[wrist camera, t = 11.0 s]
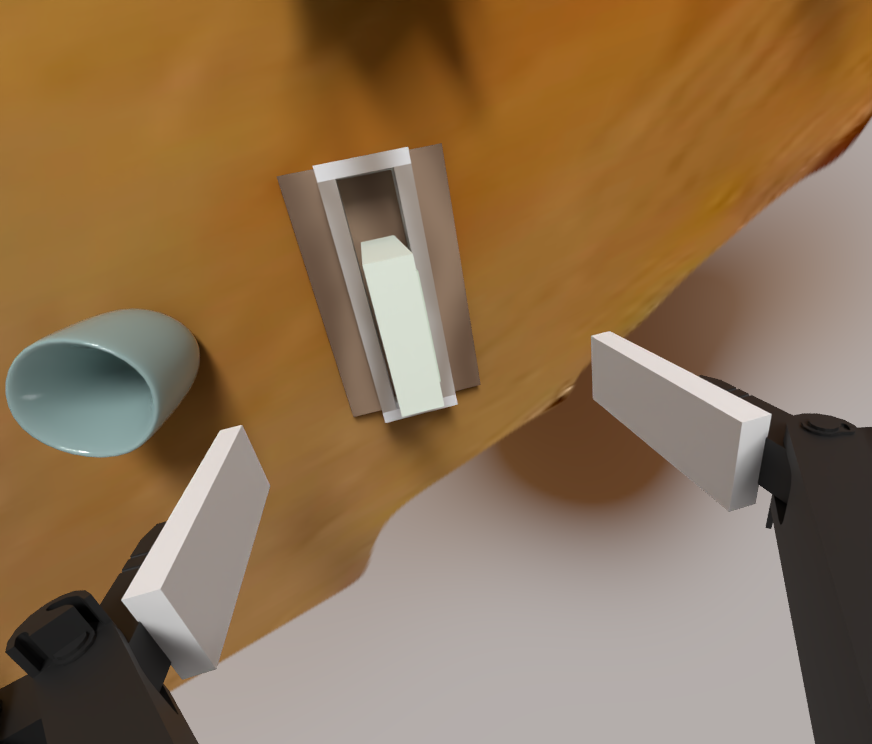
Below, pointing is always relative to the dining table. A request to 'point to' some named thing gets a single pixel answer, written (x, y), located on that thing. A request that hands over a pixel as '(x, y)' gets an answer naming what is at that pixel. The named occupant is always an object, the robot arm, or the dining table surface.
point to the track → (344, 275)
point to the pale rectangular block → (403, 323)
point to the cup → (103, 381)
